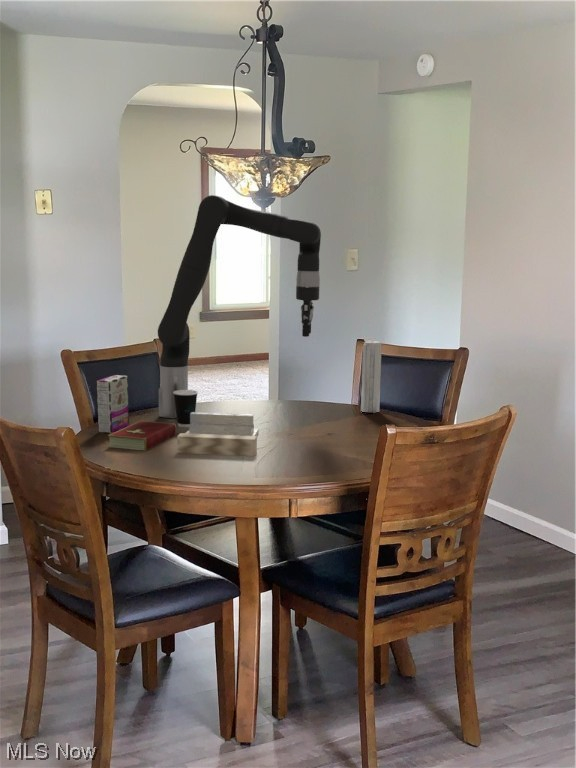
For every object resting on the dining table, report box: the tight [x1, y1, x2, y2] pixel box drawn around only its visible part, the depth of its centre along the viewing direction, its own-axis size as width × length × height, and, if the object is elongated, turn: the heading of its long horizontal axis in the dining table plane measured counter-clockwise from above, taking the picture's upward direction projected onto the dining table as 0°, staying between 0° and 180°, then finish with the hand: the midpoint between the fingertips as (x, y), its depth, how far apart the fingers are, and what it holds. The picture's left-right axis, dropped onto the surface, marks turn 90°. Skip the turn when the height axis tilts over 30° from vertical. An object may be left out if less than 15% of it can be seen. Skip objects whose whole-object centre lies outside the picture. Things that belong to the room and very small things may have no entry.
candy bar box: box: [96, 374, 130, 434], centre depth 262 cm, size 11×5×16 cm, turn 161°
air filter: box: [360, 340, 382, 413], centre depth 294 cm, size 6×6×25 cm
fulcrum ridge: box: [185, 411, 259, 437], centre depth 256 cm, size 21×12×7 cm, turn 85°
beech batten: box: [176, 432, 258, 457], centre depth 237 cm, size 22×4×5 cm, turn 84°
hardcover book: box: [107, 420, 177, 452], centre depth 249 cm, size 12×21×4 cm, turn 164°
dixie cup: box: [173, 389, 199, 428], centre depth 269 cm, size 8×8×11 cm
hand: (306, 334), depth 275 cm, fingers open, 8 cm apart
